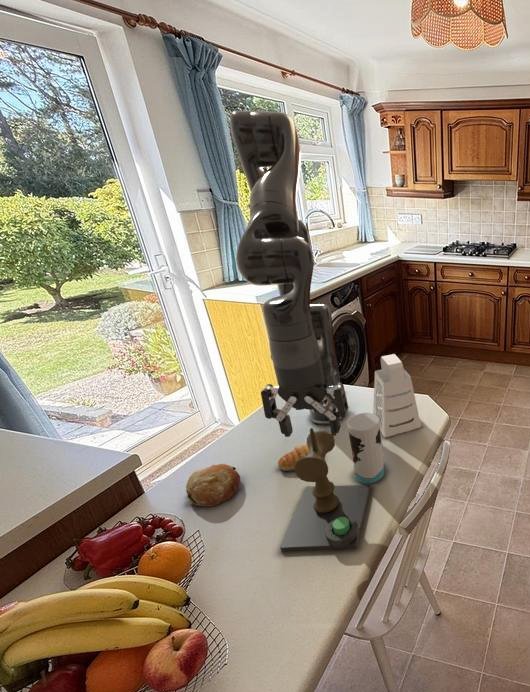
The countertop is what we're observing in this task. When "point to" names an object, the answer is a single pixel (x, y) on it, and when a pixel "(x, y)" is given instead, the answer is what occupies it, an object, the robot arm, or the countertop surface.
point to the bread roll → (212, 485)
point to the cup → (366, 447)
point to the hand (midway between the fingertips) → (312, 433)
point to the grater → (394, 397)
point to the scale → (327, 521)
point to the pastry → (292, 458)
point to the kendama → (318, 470)
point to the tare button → (341, 526)
